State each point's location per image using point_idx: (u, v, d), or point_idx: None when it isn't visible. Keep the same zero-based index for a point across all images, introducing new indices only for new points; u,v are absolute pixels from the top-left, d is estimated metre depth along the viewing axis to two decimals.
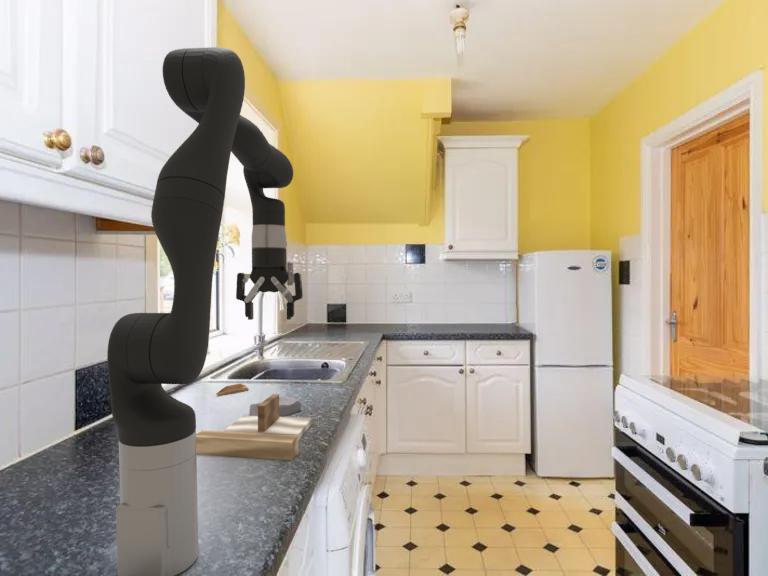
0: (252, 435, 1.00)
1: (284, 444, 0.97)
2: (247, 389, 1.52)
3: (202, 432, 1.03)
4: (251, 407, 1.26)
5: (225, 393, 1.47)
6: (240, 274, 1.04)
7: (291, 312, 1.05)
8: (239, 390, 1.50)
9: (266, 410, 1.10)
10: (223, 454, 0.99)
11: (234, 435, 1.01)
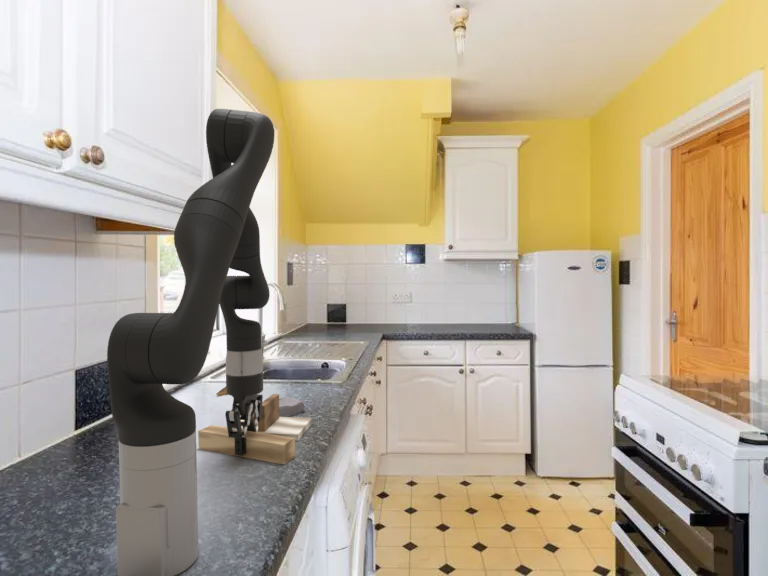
0: (252, 434, 1.00)
1: (276, 446, 0.95)
2: None
3: (209, 427, 1.05)
4: None
5: (225, 393, 1.47)
6: (238, 412, 0.94)
7: None
8: None
9: (266, 410, 1.10)
10: (224, 450, 1.00)
11: None
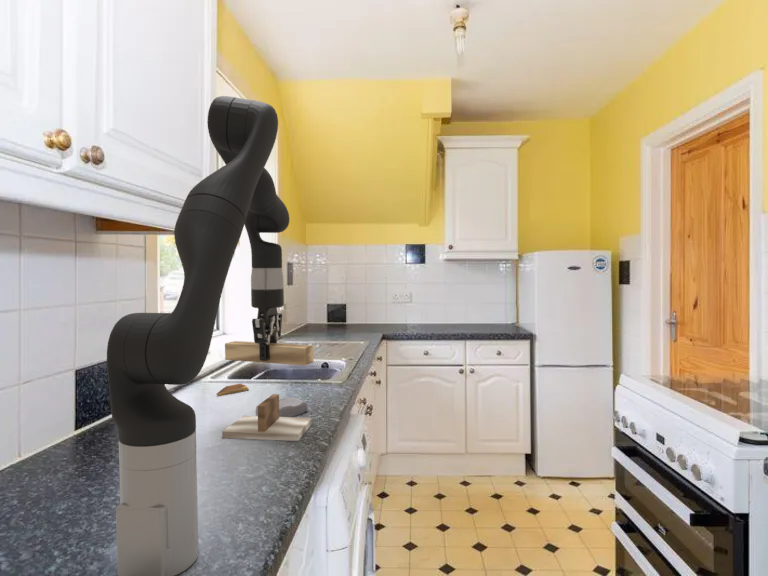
0: (274, 344, 1.13)
1: (298, 349, 1.08)
2: (247, 389, 1.52)
3: (234, 342, 1.18)
4: (257, 408, 1.25)
5: (225, 393, 1.47)
6: (263, 320, 1.07)
7: None
8: (239, 390, 1.50)
9: (266, 410, 1.10)
10: (249, 359, 1.13)
11: None
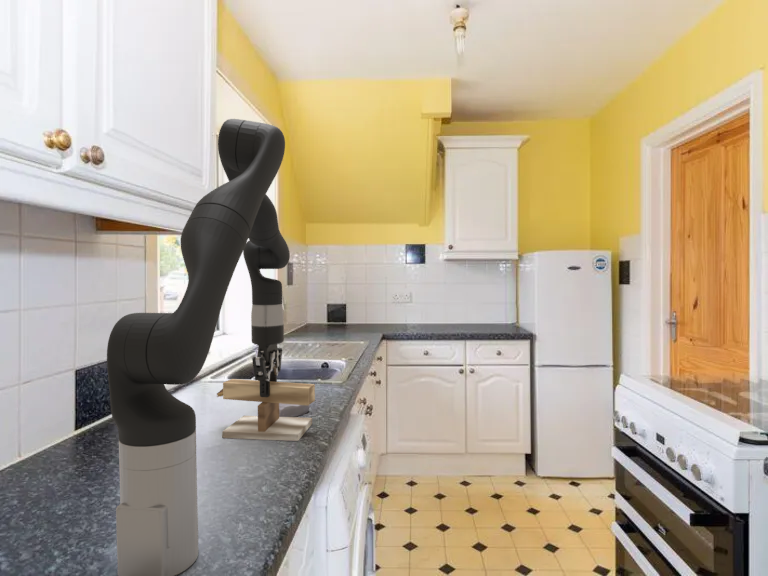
0: (275, 383, 1.14)
1: (301, 389, 1.10)
2: None
3: (232, 380, 1.17)
4: None
5: None
6: (263, 358, 1.07)
7: None
8: None
9: (266, 410, 1.10)
10: (249, 398, 1.13)
11: (259, 383, 1.14)
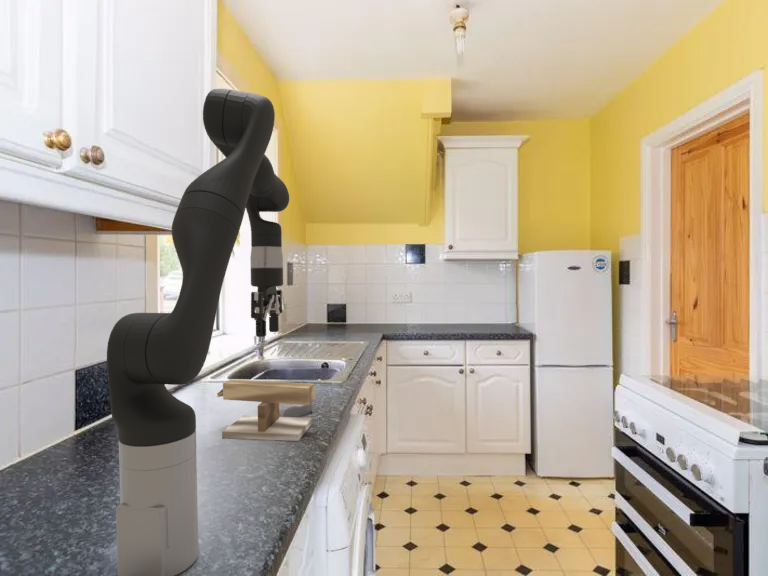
0: (274, 383, 1.14)
1: (301, 389, 1.10)
2: None
3: (231, 380, 1.17)
4: None
5: None
6: (262, 293, 1.07)
7: None
8: None
9: (266, 410, 1.10)
10: (249, 398, 1.13)
11: (258, 383, 1.14)
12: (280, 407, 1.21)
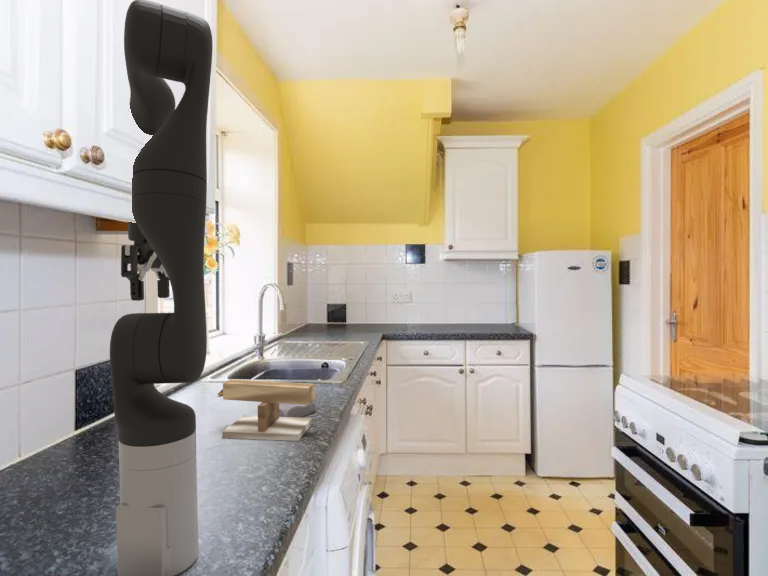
0: (274, 383, 1.14)
1: (301, 389, 1.10)
2: None
3: (231, 380, 1.17)
4: None
5: None
6: (136, 246, 0.88)
7: None
8: None
9: (266, 410, 1.10)
10: (249, 398, 1.13)
11: (258, 383, 1.14)
12: (284, 407, 1.21)
